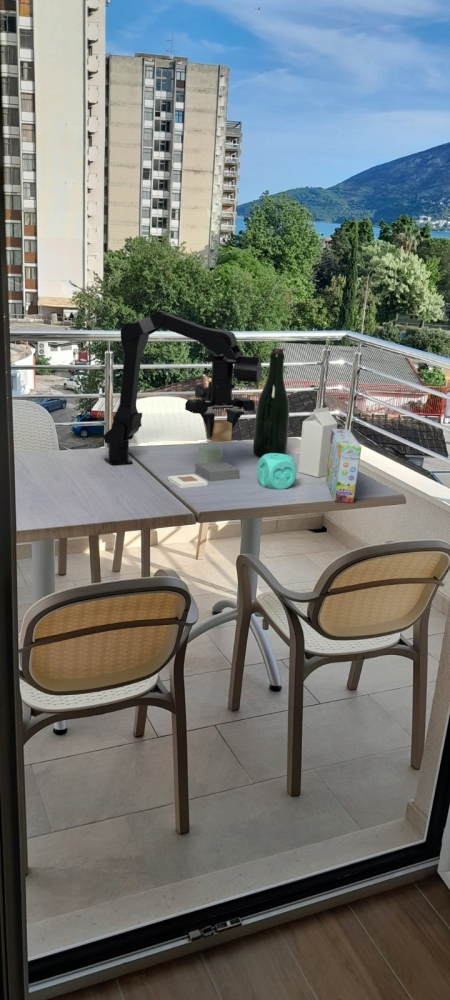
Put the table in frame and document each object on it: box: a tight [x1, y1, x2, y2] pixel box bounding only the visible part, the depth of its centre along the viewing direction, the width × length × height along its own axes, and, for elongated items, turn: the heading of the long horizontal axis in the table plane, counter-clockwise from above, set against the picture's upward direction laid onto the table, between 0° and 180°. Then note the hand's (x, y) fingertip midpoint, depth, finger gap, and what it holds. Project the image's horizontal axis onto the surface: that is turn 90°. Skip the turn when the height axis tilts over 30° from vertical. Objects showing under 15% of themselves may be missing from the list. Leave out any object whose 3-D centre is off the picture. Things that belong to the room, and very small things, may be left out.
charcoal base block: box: [194, 461, 241, 482], centre depth 208 cm, size 9×9×3 cm
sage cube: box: [198, 444, 223, 464], centre depth 219 cm, size 5×5×5 cm
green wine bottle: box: [252, 347, 290, 458], centre depth 229 cm, size 10×10×33 cm
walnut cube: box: [206, 419, 233, 444], centre depth 204 cm, size 5×5×5 cm
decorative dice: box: [256, 453, 297, 490], centre depth 201 cm, size 8×8×8 cm
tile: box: [167, 473, 209, 489], centre depth 199 cm, size 8×8×1 cm
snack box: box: [325, 428, 362, 504], centre depth 198 cm, size 21×6×15 cm, turn 179°
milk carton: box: [297, 406, 338, 478], centre depth 214 cm, size 7×7×19 cm
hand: (219, 436), depth 205 cm, fingers closed on walnut cube, 5 cm apart
